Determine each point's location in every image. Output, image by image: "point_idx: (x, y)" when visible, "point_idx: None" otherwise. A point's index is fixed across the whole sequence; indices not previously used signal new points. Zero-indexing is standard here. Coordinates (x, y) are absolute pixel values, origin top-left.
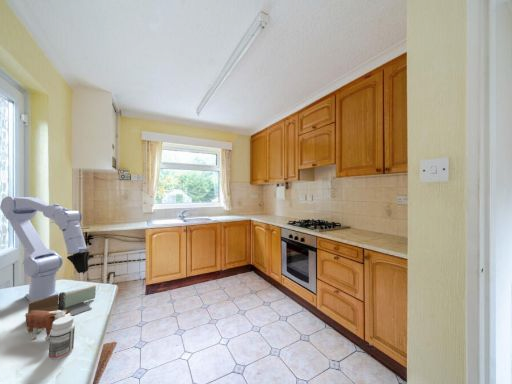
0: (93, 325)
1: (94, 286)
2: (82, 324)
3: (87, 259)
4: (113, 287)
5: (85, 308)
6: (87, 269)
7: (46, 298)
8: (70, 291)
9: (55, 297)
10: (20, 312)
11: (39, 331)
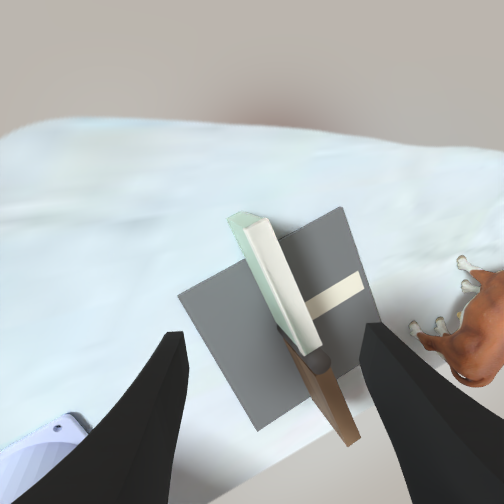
0: (461, 180)
1: (268, 225)
2: (435, 215)
3: (142, 433)
4: (67, 119)
5: (328, 232)
6: (181, 339)
7: (339, 402)
8: (300, 334)
9: (330, 373)
10: (226, 456)
11: (416, 324)
